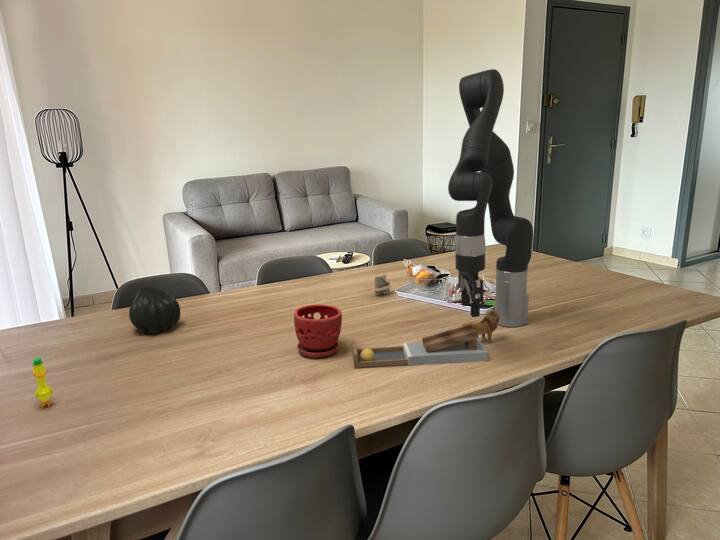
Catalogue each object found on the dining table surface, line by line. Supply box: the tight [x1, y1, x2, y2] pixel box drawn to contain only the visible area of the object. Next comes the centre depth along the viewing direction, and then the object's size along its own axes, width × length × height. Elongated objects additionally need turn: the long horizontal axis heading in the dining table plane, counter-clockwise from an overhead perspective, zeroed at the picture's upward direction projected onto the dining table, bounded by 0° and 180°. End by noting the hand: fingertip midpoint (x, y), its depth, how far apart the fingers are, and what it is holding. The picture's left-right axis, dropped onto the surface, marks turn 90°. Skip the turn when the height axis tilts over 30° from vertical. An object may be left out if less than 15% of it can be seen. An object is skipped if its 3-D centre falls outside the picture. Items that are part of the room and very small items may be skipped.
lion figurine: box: [460, 308, 500, 344], centre depth 153 cm, size 15×5×9 cm, turn 117°
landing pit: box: [351, 340, 409, 370], centre depth 145 cm, size 14×9×4 cm, turn 94°
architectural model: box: [372, 274, 393, 297], centre depth 199 cm, size 3×7×7 cm, turn 130°
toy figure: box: [31, 357, 54, 407], centre depth 126 cm, size 7×4×12 cm, turn 37°
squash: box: [128, 286, 181, 334], centre depth 172 cm, size 14×15×15 cm
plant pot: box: [293, 304, 343, 358], centre depth 151 cm, size 13×13×12 cm
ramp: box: [421, 324, 480, 353], centre depth 145 cm, size 14×6×5 cm, turn 94°
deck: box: [402, 338, 488, 366], centre depth 146 cm, size 21×9×2 cm, turn 94°
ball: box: [361, 349, 374, 361], centre depth 143 cm, size 4×4×4 cm
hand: (470, 310), depth 143 cm, fingers open, 8 cm apart
